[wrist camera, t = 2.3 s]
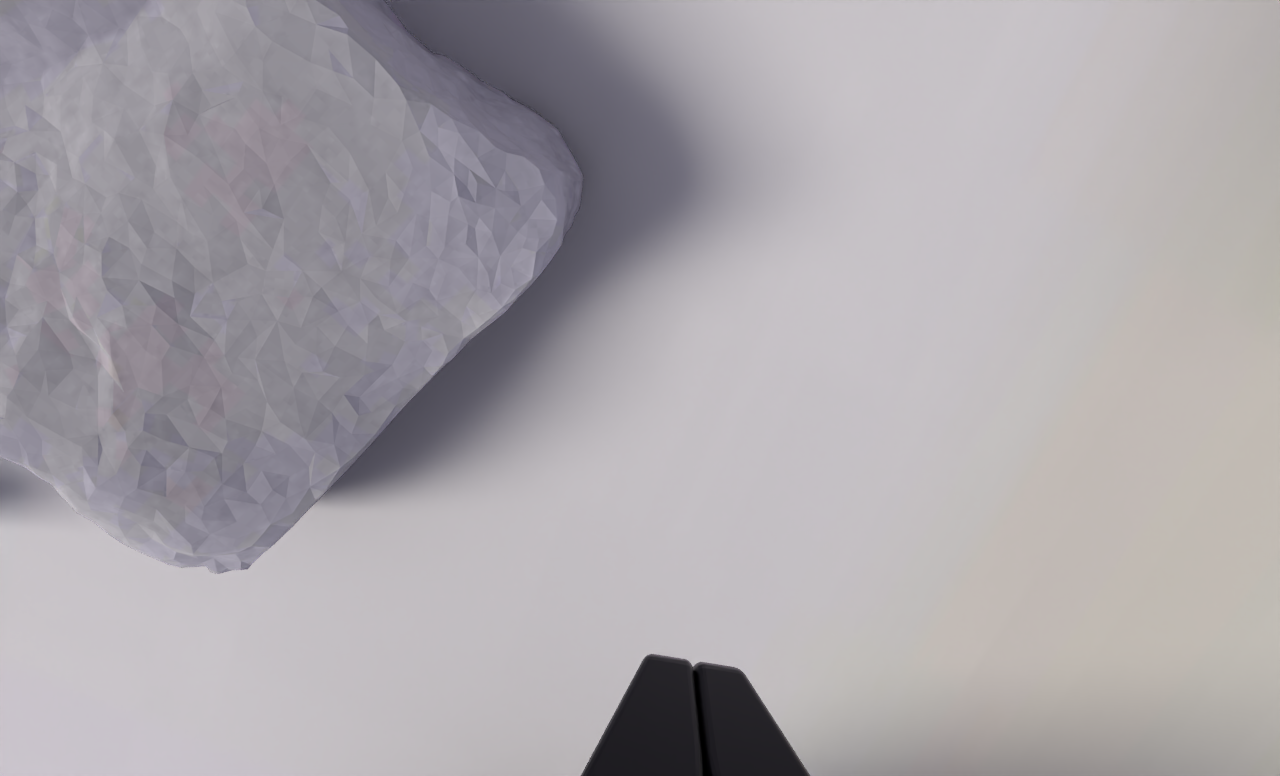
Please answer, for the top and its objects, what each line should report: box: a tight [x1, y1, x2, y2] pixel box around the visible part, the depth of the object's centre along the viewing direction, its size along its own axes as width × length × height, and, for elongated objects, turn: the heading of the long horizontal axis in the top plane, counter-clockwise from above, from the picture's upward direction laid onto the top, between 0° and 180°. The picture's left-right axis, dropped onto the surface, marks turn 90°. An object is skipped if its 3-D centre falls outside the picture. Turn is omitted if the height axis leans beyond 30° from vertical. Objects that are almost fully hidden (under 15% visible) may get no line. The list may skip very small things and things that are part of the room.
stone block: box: [0, 0, 583, 574], centre depth 18 cm, size 12×5×10 cm
